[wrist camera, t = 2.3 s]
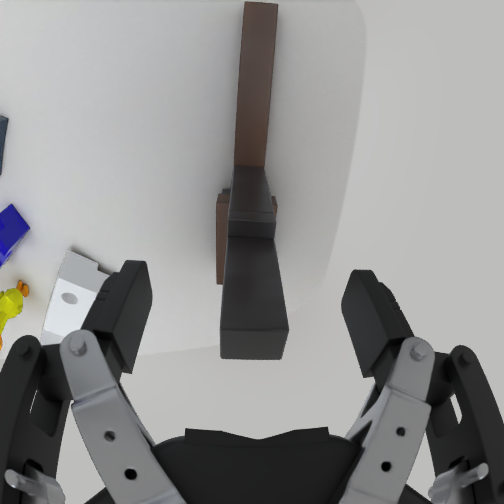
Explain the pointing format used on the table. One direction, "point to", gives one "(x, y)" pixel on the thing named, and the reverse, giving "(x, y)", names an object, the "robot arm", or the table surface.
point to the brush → (251, 209)
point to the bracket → (71, 297)
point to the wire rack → (2, 137)
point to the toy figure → (11, 304)
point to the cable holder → (10, 232)
